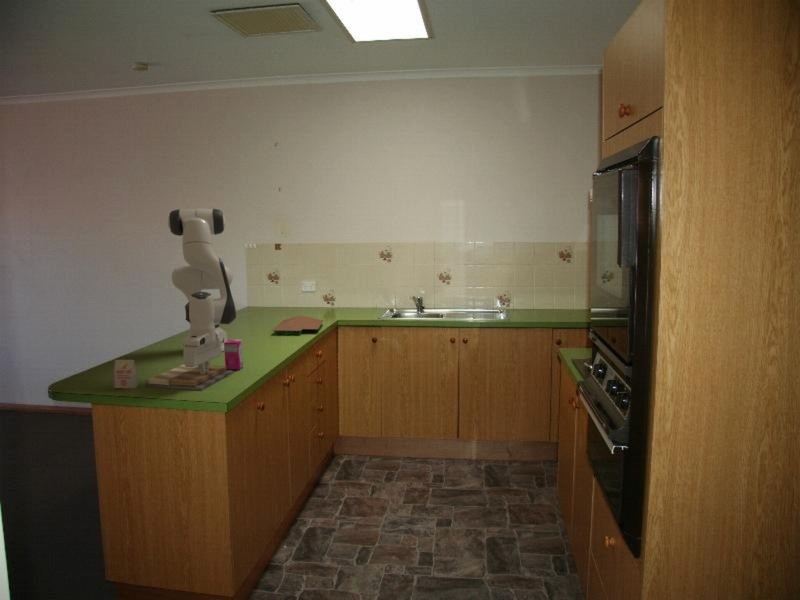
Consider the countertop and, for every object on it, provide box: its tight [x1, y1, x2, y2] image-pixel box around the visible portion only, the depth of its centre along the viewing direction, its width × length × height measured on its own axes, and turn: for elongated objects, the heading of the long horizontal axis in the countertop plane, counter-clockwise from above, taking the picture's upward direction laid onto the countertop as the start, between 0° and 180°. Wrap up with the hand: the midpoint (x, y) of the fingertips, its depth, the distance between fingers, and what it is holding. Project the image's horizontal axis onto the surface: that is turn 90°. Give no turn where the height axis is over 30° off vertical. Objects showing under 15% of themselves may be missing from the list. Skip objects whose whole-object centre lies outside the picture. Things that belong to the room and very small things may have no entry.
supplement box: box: [223, 339, 244, 371], centre depth 225 cm, size 6×6×12 cm
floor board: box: [145, 363, 234, 392], centre depth 210 cm, size 23×22×3 cm
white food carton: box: [112, 359, 139, 390], centre depth 199 cm, size 4×7×10 cm, turn 91°
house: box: [271, 314, 324, 336], centre depth 307 cm, size 23×33×8 cm
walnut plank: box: [170, 365, 226, 386], centre depth 209 cm, size 22×10×2 cm, turn 169°
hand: (204, 373), depth 208 cm, fingers closed, pressing on walnut plank
